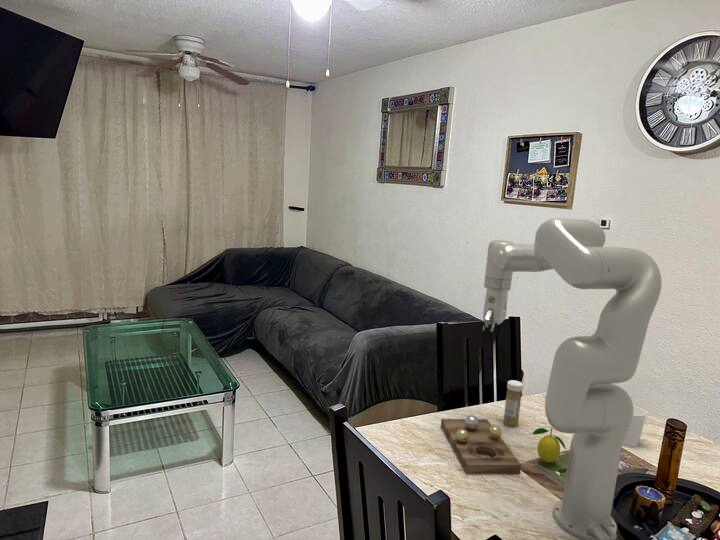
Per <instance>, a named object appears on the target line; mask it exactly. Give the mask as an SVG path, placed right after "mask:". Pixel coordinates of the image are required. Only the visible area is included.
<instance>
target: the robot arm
mask: <svg viewBox="0 0 720 540" xmlns="http://www.w3.org/2000/svg"><path fill="white" fill-rule="evenodd" d="M605 243H606V233H605V231H604V229H603V228H602V227H601V226H600V225H599V224H598V223H597V222H594V221H592V220H589V219H581V218H580V219H577V218H576V219H575V218H559V217H558V218H549V219H547V220H545V221H543V222H542V223H541V224H540V225H539V226H538V228H537V230H536V232H535V236H534V244H529V243H528V244H527V243H520V244H519V243H514V242H512V241H509V240H502V239H501V240H500V239H499V240H497V239H495V240H491V241H490V242H489V243H488V249H487V256H486V265H485V274H484V281H483V282H484V283H483V288H485V289H486V291H485V297H484V298H485V299H484V305H483V306H484V307H483V313H482V314H483V315H482V321H483V326H482V331H481V332H482V333H481V339H480V343H481V344H483V345H484V344H485V345H489V346H492V345H493V344H494V336H495V337H500V336H501V333H502V326H503V325H502V323H503V322H504V321H505V320H506V318H507V311H508V310H507V309H508V308H507V307H508V296H509V295H508V294H509V291H511V289H512V280H513V272H515V273H517V272H518V273H522V272H525V273H528V272H529V273H539V272H540V273H541V272H544V271H550V270H554V271H555V272H556V273H557V274H558V276H559V277H560V278H561V279H562V280H563V281H564V282H565V283H566V284H568V285H570V286H571V287H573V288H576V289H580V290H615V291H616V292H615V294H614V295H612V297H611V298H610V299H608V301H607V303H606V304H605V305H604V307H603V308H602V310H601V311H600V312H601V313H600V316H599V319H598V324H597V327H596V329H595V332H594V334H592V335H588V336H587V335H586V336H582V335H581V336H572V337H569V338H567V339H565V340H564V341H563V342H561V344H559V346H558V348H557V349H556V351H555V353H554V357H553V360H552V361H553V362H552V367H551V369H550V376H549V379H548V384H547V389H546V393H545V399H544V401H545V402H544V411H545V416H546V418H547V422H548V423H549V425H550V426H551V428H552V429H554V430H556V431H557V432H559V433H563V434H573V435H572V438H571V440H570V441H571V442H570V446H569V452H568V459H567V464H566V465H567V466H566V472H565V474H566V475H565V480H564V487H563V494H562V499H561V500H559V501H557V502H556V503H555V504H554V506H553V508H552V509H553V510H552V514H553V518H554V520H555V521H556V522H557V524H558V525H559V526H560V527H561V528H562V529H564V530H565V531H566V532H568V533H570V534H571V535H573V536H574V537H577V538H580V539H581V540H582V539H583V540H616V539H617V537H618V535H617V529H618V527H617V522H616V521H615V519H614V518H613V517H612V516H611V515H612V508H613V503H614V496H615V490H616V483H617V479H618V473H619V468H620V467H619V465H620V461H621V454H622V449H623V446H624V445H623V442H624V439H625V436H626V433H627V431H628V429H629V426H630V424H631V421H632V418H633V405H634V404H633V401H632V397H631V396H630V394H628V392H627V391H626V390H625V389H624V388H623V387H621V386H619V385H616V384H621V383H624V382H629V380H631V379H632V378H633V377H634V376H635V374H636V371H637V368H638V365H639V363H640V357H641V354H642V350H643V346H644V343H645V339H646V336H647V332H648V331H647V330H648V327H649V325H650V321H651V318H652V315H653V312H654V311H655V308H656V307H657V303H658V302H659V299H660V294H661V291H662V275H661V271H660V268H659V266H658V264H657V263H656V261H655V260H654V259H653V258H652V257H651V256H650V255H649V254H648V253H646V252H644V251H642V250H639V249H635V248H630V247H621V246H619V247H618V246H616V247H615V246H604V245H605Z"/></svg>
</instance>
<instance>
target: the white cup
mask: <svg viewBox="0 0 720 540" xmlns="http://www.w3.org/2000/svg"><path fill="white" fill-rule="evenodd" d="M646 416H647V412H646V411H645V410H644V409H643V408H641V407H639V406H638V405H637V406H636V405H634V404H633V418H632V421H631V424H630V426H629V429H628V431H627V433H626V436H625V439H624V442H623V446H625V447H631V448H635V447H638V445H639V444H640V443H639V442H640V439H641V437H642V433H643V429H644V425H645V419H646Z"/></svg>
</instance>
